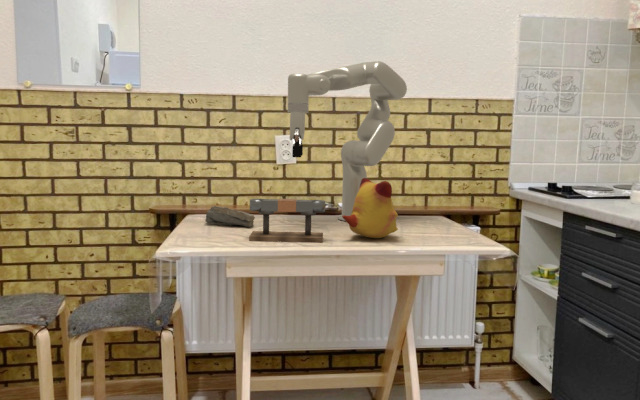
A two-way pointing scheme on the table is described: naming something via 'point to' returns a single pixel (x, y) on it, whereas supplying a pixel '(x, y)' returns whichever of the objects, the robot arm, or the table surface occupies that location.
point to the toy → (373, 210)
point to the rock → (228, 217)
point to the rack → (286, 236)
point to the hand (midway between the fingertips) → (297, 156)
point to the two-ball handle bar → (287, 205)
